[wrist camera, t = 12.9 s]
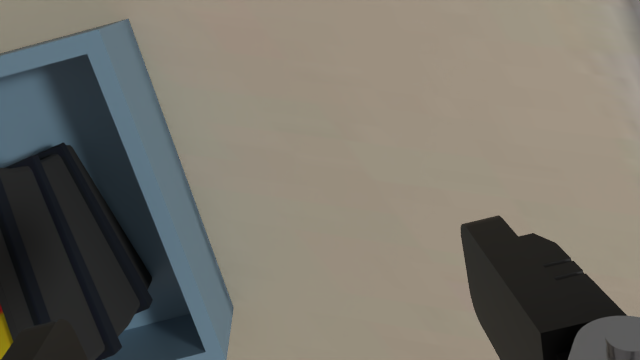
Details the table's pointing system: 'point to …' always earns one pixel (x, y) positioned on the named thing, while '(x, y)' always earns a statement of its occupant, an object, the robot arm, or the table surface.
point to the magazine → (65, 255)
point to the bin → (123, 178)
